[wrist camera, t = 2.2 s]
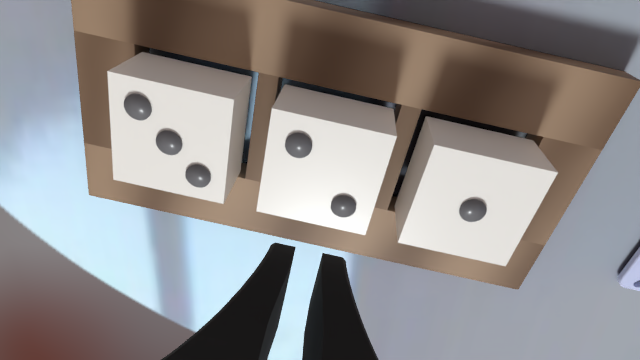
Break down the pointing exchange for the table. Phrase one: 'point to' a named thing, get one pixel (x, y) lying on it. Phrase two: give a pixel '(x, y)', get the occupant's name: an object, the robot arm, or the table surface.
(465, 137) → the one dot tile
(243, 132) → the three dot tile
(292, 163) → the two dot tile
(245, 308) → the robot arm
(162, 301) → the table surface
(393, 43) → the tile board
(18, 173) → the table surface
